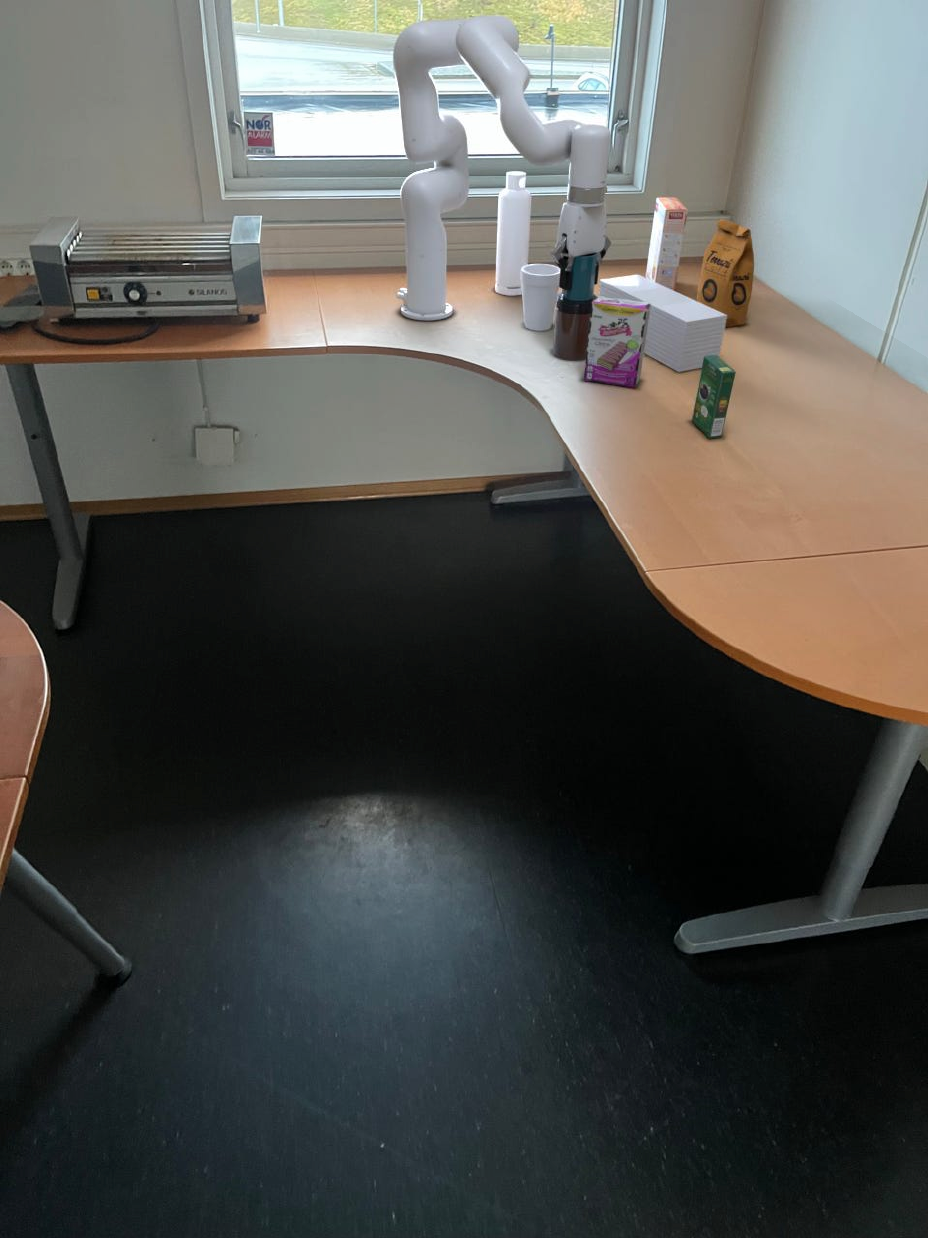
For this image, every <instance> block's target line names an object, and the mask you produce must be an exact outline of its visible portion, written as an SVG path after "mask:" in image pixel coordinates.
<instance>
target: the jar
mask: <svg viewBox="0 0 928 1238" xmlns="http://www.w3.org/2000/svg"><path fill="white" fill-rule="evenodd" d="M590 317H591V312H590V313H585V314H573V313H567V312H563V311H561V310H559V309H557V307H556V306H555V321H554V322H555V323H554V332H553V333H554V334H553V344H552V345H553V346H552V347H553V348H552V354H553V356H555V357H556V358H558V359H561V360H564V361H571V362H572V361H574V362H575V361H576V362H577V361H583V360H586V353H587V344H588V335H589V326H590Z"/></svg>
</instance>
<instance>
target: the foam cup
mask: <svg viewBox="0 0 928 1238" xmlns="http://www.w3.org/2000/svg"><path fill="white" fill-rule="evenodd" d="M520 280H521V284H522V294H521V296H522V310H523V323H524V327H525V328H526V329H528V330H531V331H536V332H537V331H539V332H541V331H542V332H543V331H548V330H550V329H551V328H552V324H553V319H554V316H555V312H556V304H557V295H558V294H559V290H560V287H559V281H560V269H559V268H558V265H553V264H548V263H531V264H528V265H526V266H523V267H522V268H521V277H520Z"/></svg>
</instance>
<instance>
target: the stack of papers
mask: <svg viewBox="0 0 928 1238" xmlns="http://www.w3.org/2000/svg"><path fill="white" fill-rule="evenodd" d="M645 277H646V276H643V275H640V274H632V275H625V276H617V277H611V278H602V279H600V280H599V286H598V287H599V289H598V295H597V296H604V297H612V298H619V299H626V300H634V301H642V302H649V303H651V307H650V314H649V320H648V327H647V333H646V341H645V347H644V354H645V355H647V356H648V357H651V358H652V359H654V360H656V361H657V362H659V363H661V364H663V365H664V366H667V367H668V368H670V369H672V370H674V371H675V372H677V373H681V372H686V371H691V370H696V369H702V364H703V359H704V356H707V355H717V356H718V357H719V358H721V357H720V356H721V351H722V346H723V341H724V335H725V329H726V327H725V324H726V319H727V315H726V314H723V313H721V312H719V311H717V310H715V309H712V308H710V307H708V306H706V305H704V304H701V303H699V302H697V300H695V299H693V298H691V297H688V296H686V295H683V294H682V293H679V292H677V291H676V290H675V291H673V290H671V289H669V288H666V287H664V286H662V285H660V284H658V283H656V282H653V281H651V280H649V279H647V278H645Z"/></svg>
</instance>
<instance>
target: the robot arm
mask: <svg viewBox="0 0 928 1238" xmlns="http://www.w3.org/2000/svg"><path fill="white" fill-rule="evenodd" d="M519 48H520V35H519V30H518V28H517V27H516V25H515V23H514V22H513V21H512V20H511V19H510V18H509V17H507V16H505V15H501V14H491V15H489V14H488V15H477V16H472V17H465V18H464V17H463V18H446V19H428V20H427V19H426V20H420V21H416V22H414V23H411V24H410V25H408V26H407V27H405V28H404V29H403V30H402V31H401V32H400V33H399V34H398V37H397V38H396V41H395V43H394V47H393V52H392V53H393V54H392V64H393V72H394V77H395V83H396V86H397V87H396V88H397V92H398V107H399V108H398V109H399V117H400V129H401V130H400V131H401V139H402V141H401V143H402V148H403V152H404V155H405V158H407V160H408V161H410V162H411V163H412V164H416V165H424V164H430V163H433V164H434V167H433V168H432V167H431V168H427V169H423V170H419V171H416V172H413V173H412V174H410V175H408V176H407V177H406V178H405V180H404V181H403V183H402V184H401V188H400V195H399V196H400V203H401V209H402V213H403V219H404V228H405V229H404V231H405V264H406V265H405V266H406V268H405V269H406V270H405V271H406V272H405V273H406V288H405V287H400V288H399V290H398V292H397V293H396V298H397V299H400V300H403V304H402V305H401V307H400V313H401V315H402V316H404V317H406V318H408V319H409V320H415V321H439V320H444V319H447V318H449V317H451V316H452V315H453V312H454V311H453V306H452V305H451V304H449V303H447V266H448V265H447V263H448V262H447V255H448V253H447V251H448V250H447V247H448V245H447V231H446V228H445V225H444V223H443V220H442V216H441V214H445V213H449V212H451V211H454V210H457V209H459V208H461V207H462V206H463V205H465V203H466V202H467V199H468V197H469V192H470V171H469V150H468V137H467V133H466V130H465V129H466V128H465V126H464V124H463V122H462V121H461V119H460V118H459V117H458V116H457V115H456V114H455V113H453V112H451V111H440V106H439V105H440V104H439V93H438V89H437V85H436V82H435V80H434V78H433V76H432V74H431V73H430V72H431V70H433V69H441V68H451V67H460V66H467V67H468V68H469V69H470V71H471V72H472V74H473V75H474V76H475V77H476V78H477V80H479V82H480V83H481V84H482V86H483V87H484V88H485V89H486V91H487V92H488V93H489V94H490V96H491V97H492V98H493V99H494V100H495V102H496V104H497V112H498V118H499V121H500V124H501V125H500V126H501V127H502V131H503V132H504V134H505V136H506V138H507V140H509V141H508V142H510V143H511V145H513V147H514V148H515V150H516V151H517V152H518V153H519V154H520V155H521V156H522V157H523V159H524V160H525V161H526V162H528V163H529V164H531V165H533V166H535V167H547V166H550V165H554V164H559V163H565V162H569V167H568V168H569V169H568V178H567V179H568V181H567V192H566V193H567V194H566V202H563V204H562V206H561V207H562V208H561V211H560V216H559V221H558V227H557V233H556V244H555V246H554V247H553V249H552V250H551V251H550V256H551V257H552V259H553V260H554V262H555V264H556V266H557V267H558V268H559V269H560V281H559V289H561V290H562V289H564V290H567V291H570V290H571V288H572V276H573V271H571V267H572V265H573V262H574V259H575V257H577V256H584V255H589V254H594V253H597V263H596V273H595V283H594V286H596V285H598V281H599V270H600V266H601V265H602V263H603V259H604V257H605V256H606V254H607V251H608V250H609V248H610V247H611V245H612V241H611V240H610V238H609V237H608V236H607V203H606V201H605V198H606V193H608V187H607V177H608V169H609V159H610V147H611V137H612V136H611V130H610V129H609V128H608V127H607V126H605V125H600V124H587V123H582V122H580V121H577V120H574V119H571V118H560V119H556V120H550V121H545V122H543V121H541V120H540V118H539V117H538V116H537V114H535V112H534V111H533V110H532V108H531V107H530V105H529V104H528V102H527V101H526V98H525V95H524V93H525V91H526V90H527V88H528V86H529V85H530V82H531V70H530V68H529V67H528V66H527V65H526V63H525V62H524V61H523V60H522V58H521V57H520V56H519V55H518V51H519ZM567 257H569V259H568V262H567V263H566V258H567Z"/></svg>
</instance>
